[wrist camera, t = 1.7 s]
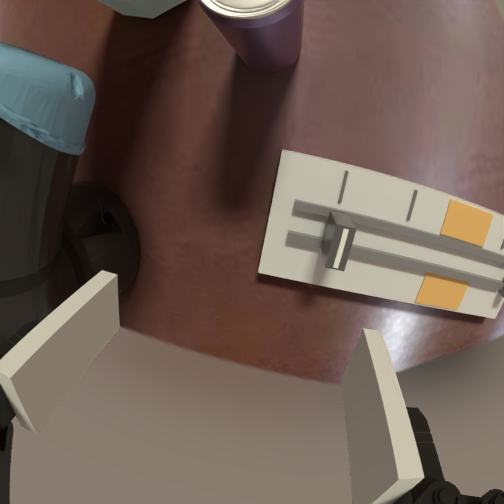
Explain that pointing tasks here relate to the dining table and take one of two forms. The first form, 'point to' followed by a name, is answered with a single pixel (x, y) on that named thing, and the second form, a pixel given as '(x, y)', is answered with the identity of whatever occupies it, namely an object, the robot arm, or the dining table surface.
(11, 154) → the robot arm
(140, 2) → the water bottle
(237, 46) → the beverage can
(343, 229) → the fader
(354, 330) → the dining table surface
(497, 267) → the console
